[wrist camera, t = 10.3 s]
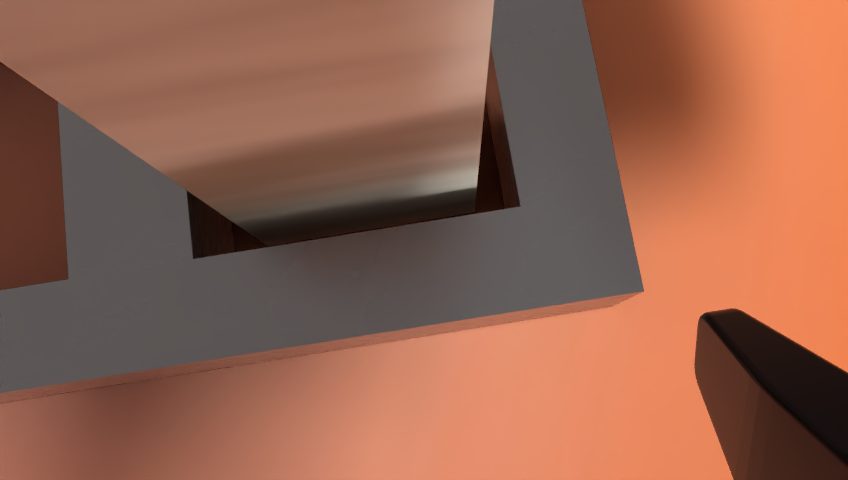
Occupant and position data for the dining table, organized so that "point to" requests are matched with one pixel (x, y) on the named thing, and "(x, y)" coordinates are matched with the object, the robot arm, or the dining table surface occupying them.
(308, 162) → the square peg
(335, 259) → the grey flat frame
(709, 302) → the dining table surface
